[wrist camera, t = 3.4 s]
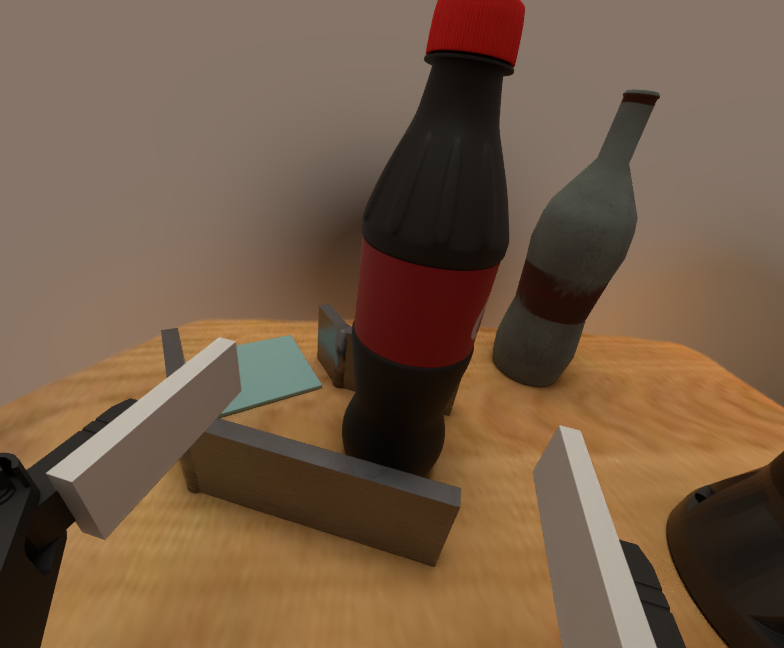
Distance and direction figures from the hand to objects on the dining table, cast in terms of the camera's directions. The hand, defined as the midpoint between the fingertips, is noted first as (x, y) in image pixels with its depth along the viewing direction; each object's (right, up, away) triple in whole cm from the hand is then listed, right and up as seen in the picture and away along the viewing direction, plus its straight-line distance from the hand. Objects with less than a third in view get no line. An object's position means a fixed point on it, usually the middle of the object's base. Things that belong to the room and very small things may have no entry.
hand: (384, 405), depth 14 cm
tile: (-14, -2, +23) cm, 27 cm away
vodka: (+18, -2, +31) cm, 35 cm away
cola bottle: (0, -8, +16) cm, 18 cm away
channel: (-7, -5, +18) cm, 20 cm away
